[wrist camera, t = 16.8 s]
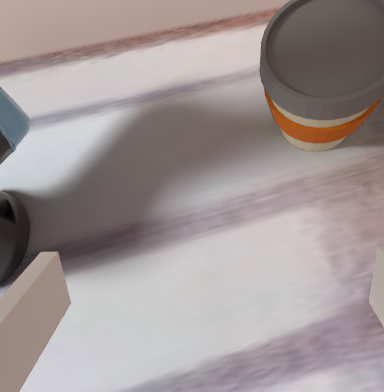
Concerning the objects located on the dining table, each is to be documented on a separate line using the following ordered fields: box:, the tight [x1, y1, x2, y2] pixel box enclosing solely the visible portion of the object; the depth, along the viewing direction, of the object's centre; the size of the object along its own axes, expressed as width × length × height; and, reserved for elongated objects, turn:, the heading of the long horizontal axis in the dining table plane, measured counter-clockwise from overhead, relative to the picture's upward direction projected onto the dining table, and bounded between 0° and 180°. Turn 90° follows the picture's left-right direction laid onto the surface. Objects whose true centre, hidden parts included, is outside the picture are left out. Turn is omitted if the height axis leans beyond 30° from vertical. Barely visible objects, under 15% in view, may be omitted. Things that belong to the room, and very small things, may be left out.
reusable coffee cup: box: [260, 0, 384, 152], centre depth 37 cm, size 13×12×15 cm
